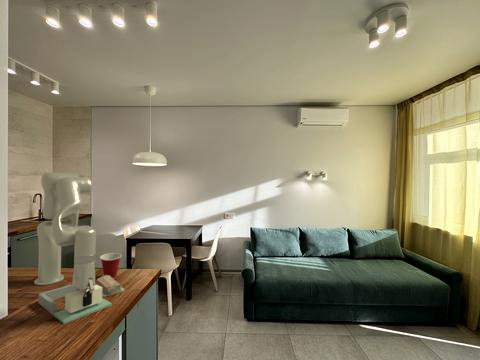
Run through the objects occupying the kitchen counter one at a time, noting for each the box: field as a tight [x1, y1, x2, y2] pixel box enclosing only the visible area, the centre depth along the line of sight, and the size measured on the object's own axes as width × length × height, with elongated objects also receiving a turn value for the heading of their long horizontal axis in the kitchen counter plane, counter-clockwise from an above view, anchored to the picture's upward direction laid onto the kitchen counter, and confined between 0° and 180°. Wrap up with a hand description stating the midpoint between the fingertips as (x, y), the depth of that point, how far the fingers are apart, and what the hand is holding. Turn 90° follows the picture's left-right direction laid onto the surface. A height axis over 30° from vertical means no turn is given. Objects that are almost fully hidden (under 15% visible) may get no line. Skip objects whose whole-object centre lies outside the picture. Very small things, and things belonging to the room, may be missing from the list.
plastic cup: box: [99, 252, 123, 279], centre depth 140 cm, size 11×11×12 cm
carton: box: [64, 285, 103, 313], centre depth 104 cm, size 5×12×6 cm, turn 145°
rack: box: [37, 283, 89, 315], centre depth 112 cm, size 16×18×4 cm
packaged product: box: [95, 275, 125, 298], centre depth 125 cm, size 18×5×10 cm
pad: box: [53, 297, 113, 325], centre depth 104 cm, size 10×18×1 cm, turn 145°
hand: (84, 302), depth 104 cm, fingers closed on carton, 5 cm apart
